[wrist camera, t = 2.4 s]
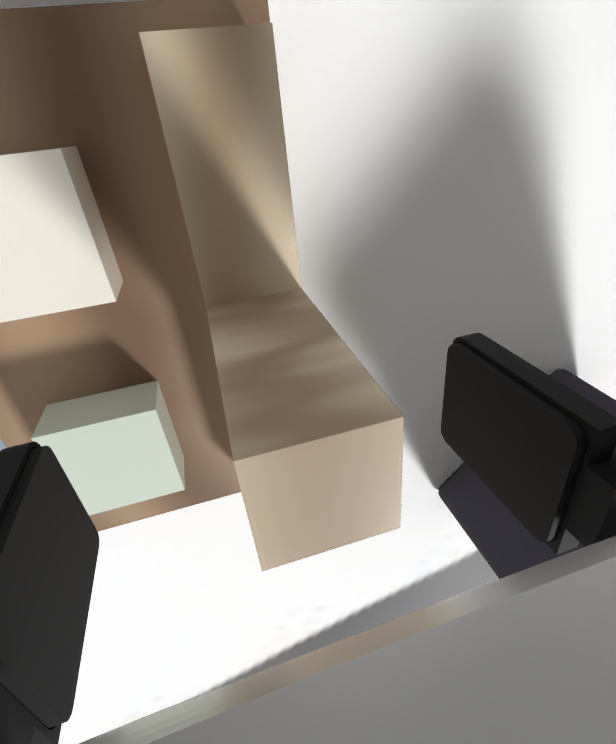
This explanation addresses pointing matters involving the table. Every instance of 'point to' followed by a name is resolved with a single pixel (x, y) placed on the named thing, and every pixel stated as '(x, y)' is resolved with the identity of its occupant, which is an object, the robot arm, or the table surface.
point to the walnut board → (116, 232)
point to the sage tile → (115, 446)
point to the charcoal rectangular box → (491, 517)
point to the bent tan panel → (270, 305)
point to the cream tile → (51, 237)
